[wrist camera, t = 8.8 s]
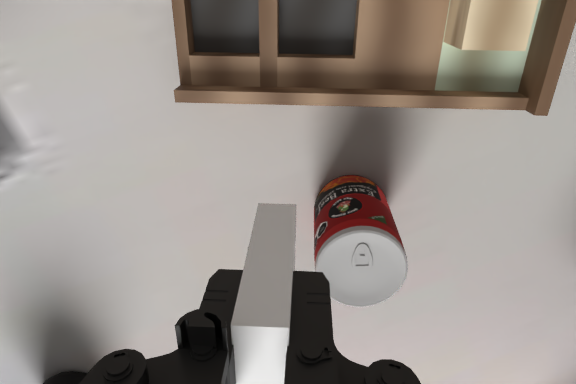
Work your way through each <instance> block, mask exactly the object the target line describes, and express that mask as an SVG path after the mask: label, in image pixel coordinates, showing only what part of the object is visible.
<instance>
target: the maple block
mask: <svg viewBox="0 0 576 384" xmlns="http://www.w3.org/2000/svg"><path fill="white" fill-rule="evenodd" d="M537 4H538V0H450V6H449V12H448V18H447V23H446V29H445V35H444V41H443V42H445V43H447V44H449V45H451V46H454V47H456V48H458V49H461V50H495V51H526V47H527V43H528V39H529V35H530V31H531V28H532V24H533V20H534V16H535V12H536V8H537Z"/></svg>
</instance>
